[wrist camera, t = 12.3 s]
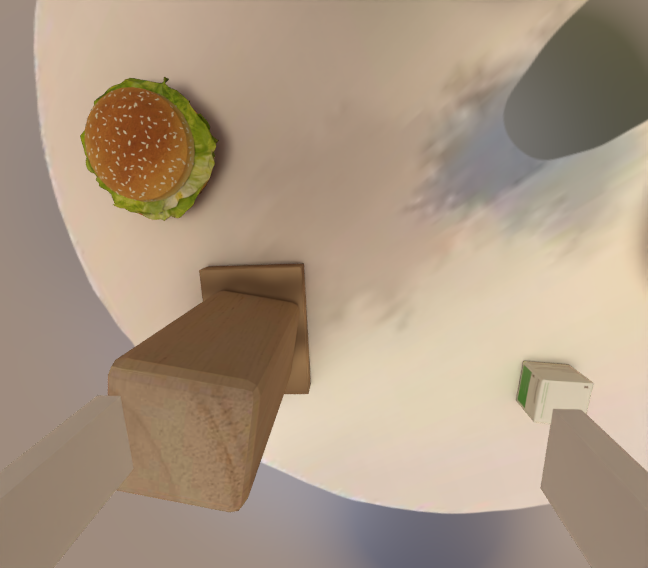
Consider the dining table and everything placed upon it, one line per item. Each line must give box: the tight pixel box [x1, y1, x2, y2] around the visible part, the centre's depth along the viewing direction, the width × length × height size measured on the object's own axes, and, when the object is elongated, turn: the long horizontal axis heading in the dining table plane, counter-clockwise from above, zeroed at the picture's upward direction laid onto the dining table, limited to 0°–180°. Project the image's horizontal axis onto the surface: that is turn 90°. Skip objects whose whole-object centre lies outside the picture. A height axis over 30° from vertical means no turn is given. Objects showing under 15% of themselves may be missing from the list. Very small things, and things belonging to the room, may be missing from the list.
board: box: [199, 264, 311, 394], centre depth 43 cm, size 16×12×3 cm
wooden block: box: [108, 291, 300, 512], centre depth 32 cm, size 10×10×20 cm
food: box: [80, 77, 218, 221], centre depth 37 cm, size 14×14×8 cm
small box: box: [516, 361, 594, 424], centre depth 41 cm, size 6×6×5 cm
